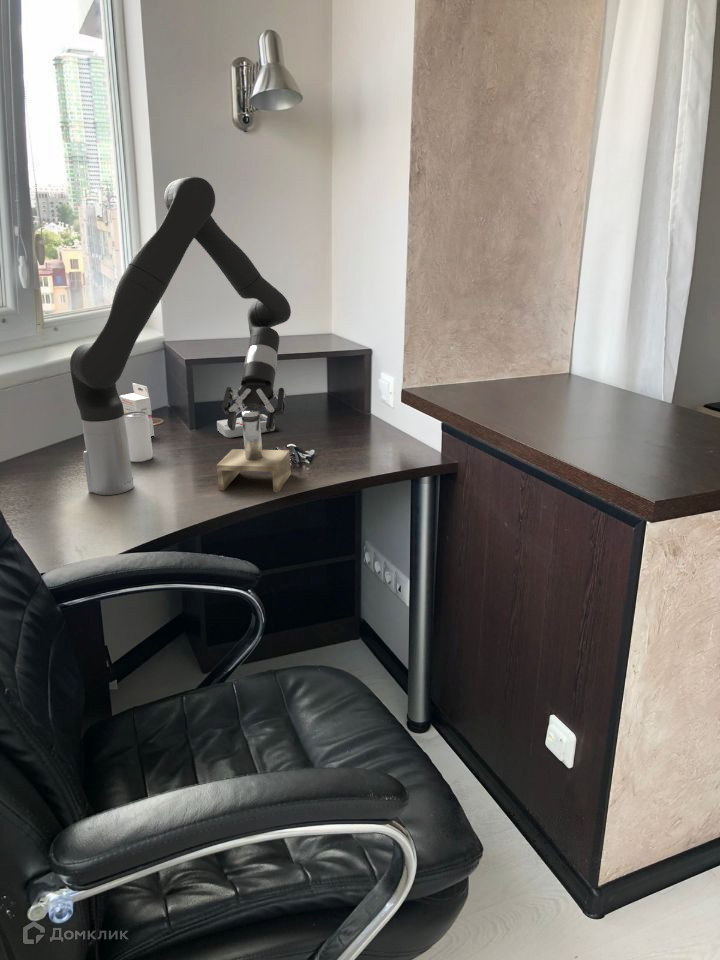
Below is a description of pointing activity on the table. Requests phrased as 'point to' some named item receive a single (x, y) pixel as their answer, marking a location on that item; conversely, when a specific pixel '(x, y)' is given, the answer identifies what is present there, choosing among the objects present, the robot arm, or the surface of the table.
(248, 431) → the spice jar
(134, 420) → the can
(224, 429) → the handheld gaming device
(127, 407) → the ink cartridge box
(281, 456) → the riser
